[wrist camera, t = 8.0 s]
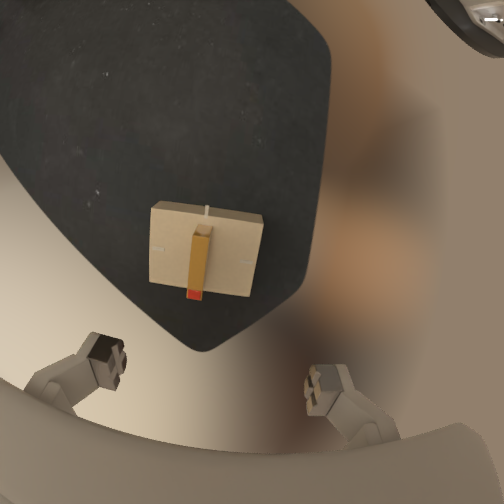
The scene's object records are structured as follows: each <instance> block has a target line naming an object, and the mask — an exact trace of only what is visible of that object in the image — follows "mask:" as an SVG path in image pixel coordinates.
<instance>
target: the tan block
mask: <svg viewBox="0 0 504 504" xmlns="http://www.w3.org/2000/svg"><path fill="white" fill-rule="evenodd" d="M198 224H202V225H208V226H213V230H212V237H211V244H210V252H209V259H208V267H207V274H206V283H205V287H204V291H210V292H217V293H224V294H231V295H238V296H246V297H249V296H250V291H251V286H252V281H253V276H254V271H255V266H256V261H257V256H258V251H259V246H260V241H261V236H262V231H263V226H264V223H263V219H262V215H259V214H253V213H246V212H240V211H233V210H226V209H220V208H213V207H209V205H206V206H198V205H191V204H184V203H176V202H168V201H159V202H158V203H157V204H156V205H154V206H153V207H152V208H151V221H150V251H149V282H154V283H159V284H165V285H171V286H177V287H184V288H187V285H188V273H189V263H190V253H191V243H192V235H193V233H194V231H195V229H196V227H197V225H198Z"/></svg>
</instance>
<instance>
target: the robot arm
mask: <svg viewBox="0 0 504 504" xmlns="http://www.w3.org/2000/svg"><path fill="white" fill-rule="evenodd" d="M459 1H460V2H461V3H462V5H463V6H464V8H465V10H466V12H467V13H468V15H469V17H470V19H471V20H472V22H473V23H474V24H475V25H477V26H478V27H480V28H481V29H483V30H484V31H486V32H487V33H489V34H490V35H492V36H493V37H495V38H496V39H497V40H499V41H500V42H502V43H503V44H504V0H459ZM123 348H124V343H123V341H122V340H121V339H117V338H113V337H110V336H106V335H103V334H99V333H95V332H91V333H90V334H89V335H88V337H87V338H86V340H85V342H84V343H83V344H82V346H81V348H80V349H79V351H78V352H77V354H76V355H74V354H72V355H70V356H68V357H66V358H64V359H62V360H60V361H58V362H56V363H54V364H52V365H50V366H47V367H45V368H43V369H41V370H39V371H37V372H35V373H34V375H33V376H32V378H31V379H30V381H29V382H28V384H27V385H26V387H25V389H24V390H21V389H19V388H17V387H15V386H14V385H12V384H10V383H9V382H7V381H5V380H3V379H2V378H0V504H504V501H503V496H502V492H501V487H500V483H499V479H498V476H497V473H496V470H495V467H494V464H493V461H492V458H491V456H490V453H489V450H488V448H487V445H486V443H485V441H484V439H483V438H482V436H481V435H480V434H478V433H477V432H476V431H474V430H473V429H471V428H470V427H468V426H467V425H465V424H463V423H455V424H452V425H449V426H446V427H443V428H440V429H437V430H434V431H430V432H427V433H424V434H420V435H417V436H413V437H409V438H405V439H401V438H400V435H399V432H398V430H397V427H396V425H395V422H394V419H393V418H392V417H390V416H389V415H388V414H386V413H385V412H384V411H383V410H381V409H380V408H379V407H378V406H376V405H375V404H374V403H373V402H371V401H370V400H369V399H368V398H366V397H365V396H364V395H363V394H362V393H360V392H359V391H355V388H354V385H353V383H352V380H351V377H350V374H349V372H348V369H347V366H346V365H344V364H335V365H333V364H324V365H323V364H313V365H312V366H311V367H310V370H309V371H310V375H308V376H307V377H306V380H305V382H304V396H305V397H306V398H307V399H308V401H307V403H306V407H307V412H308V416H326V417H327V418H328V419H329V421H330V422H331V423H332V424H333V425H334V426H335V427H336V429H338V431H339V432H340V433H341V434H342V435H343V436H344V437H345V439H346V440H347V441H348V442H349V443H348V444H347V445H346V446H345V447H344V448H343V450H337V451H327V452H314V453H297V454H296V453H294V454H261V453H259V454H258V453H240V452H228V451H217V450H208V449H201V448H194V447H188V446H182V445H176V444H171V443H166V442H161V441H156V440H152V439H148V438H143V437H140V436H136V435H132V434H129V433H125V432H121V431H118V430H115V429H112V428H109V427H106V426H102V425H100V424H97V423H94V422H91V421H88V420H86V419H83V418H80V417H78V416H77V415H76V413H75V411H74V410H73V408H72V407H73V406H74V405H76V404H77V403H78V402H80V401H81V400H83V399H84V398H85V397H87V396H88V395H89V394H91V393H92V392H94V391H95V390H96V389H98V388H99V387H102V388H106V389H109V390H114V391H116V389H117V387H118V384H119V382H120V377H119V375H121V374H123V373H124V371H125V368H126V363H127V358H126V353H125V352H124V351H123Z"/></svg>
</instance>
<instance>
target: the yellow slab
mask: <svg viewBox="0 0 504 504" xmlns="http://www.w3.org/2000/svg"><path fill="white" fill-rule="evenodd" d="M212 230H213V226H208V225H202V224H198V225H197V227H196V229H195V231H194V233H193V235H192V243H191V253H190V263H189V273H188V285H187V298H189V299H195V300H202V296H203V292H204V287H205V283H206V274H207V267H208V259H209V252H210V244H211V237H212Z"/></svg>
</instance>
